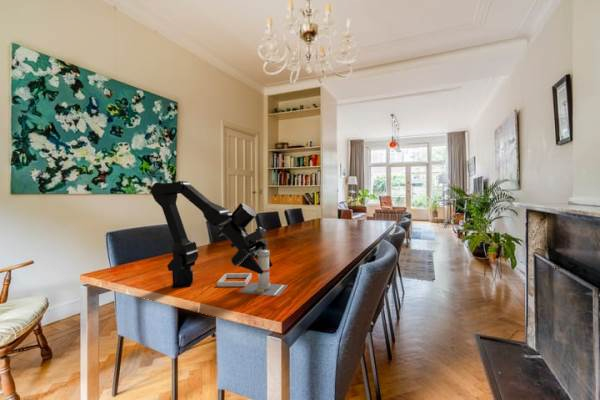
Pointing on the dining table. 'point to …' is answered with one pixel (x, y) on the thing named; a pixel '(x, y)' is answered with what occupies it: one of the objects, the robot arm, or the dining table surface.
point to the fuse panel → (254, 289)
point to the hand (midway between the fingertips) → (267, 269)
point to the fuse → (264, 264)
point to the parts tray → (235, 283)
